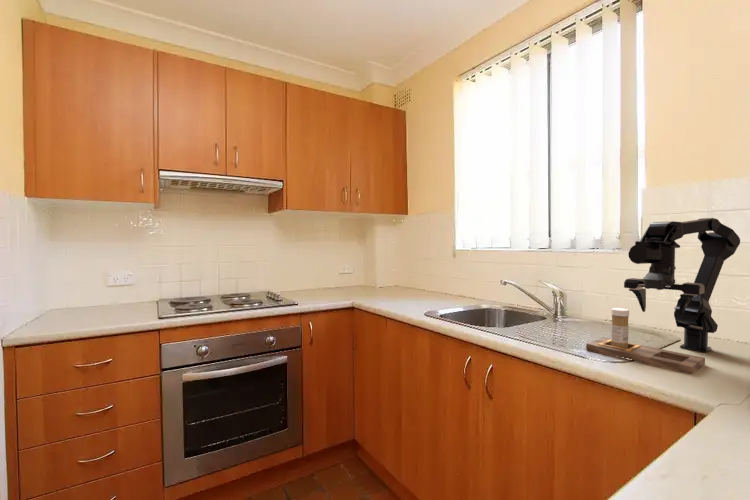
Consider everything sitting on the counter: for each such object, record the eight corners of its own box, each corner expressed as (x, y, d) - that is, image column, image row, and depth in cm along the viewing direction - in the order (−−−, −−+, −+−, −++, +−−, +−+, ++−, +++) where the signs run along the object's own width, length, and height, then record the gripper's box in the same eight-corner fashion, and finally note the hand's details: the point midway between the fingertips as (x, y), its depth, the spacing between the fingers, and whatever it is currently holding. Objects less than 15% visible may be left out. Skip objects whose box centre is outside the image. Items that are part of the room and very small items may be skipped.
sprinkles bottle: (620, 349, 117) (621, 307, 117) (631, 354, 113) (632, 310, 112) (607, 349, 117) (608, 307, 116) (617, 354, 112) (618, 310, 112)
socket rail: (603, 343, 124) (603, 336, 124) (704, 364, 103) (705, 356, 103) (586, 350, 117) (586, 342, 117) (691, 374, 96) (691, 365, 96)
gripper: (617, 262, 116) (616, 312, 116) (694, 266, 100) (692, 323, 101) (631, 261, 122) (630, 308, 123) (705, 264, 107) (704, 318, 108)
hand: (661, 314), depth 113 cm, fingers open, 9 cm apart
